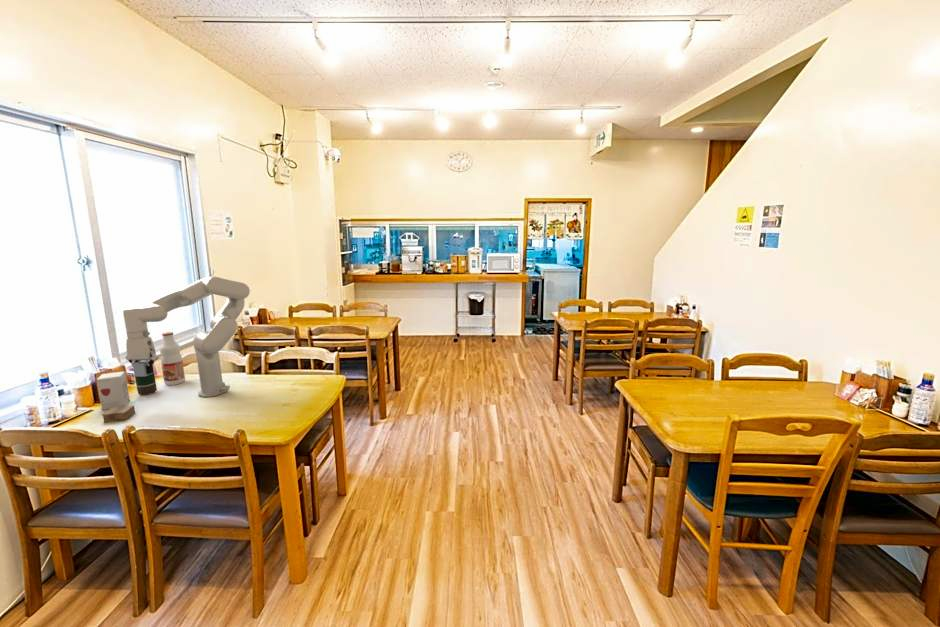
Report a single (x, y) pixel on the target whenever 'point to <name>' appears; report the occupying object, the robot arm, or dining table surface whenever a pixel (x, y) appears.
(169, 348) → the fruit juice
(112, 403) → the supplement box
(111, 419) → the walnut block
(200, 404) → the dining table surface
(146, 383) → the beer bottle
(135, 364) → the cube
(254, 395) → the dining table surface
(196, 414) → the dining table surface
